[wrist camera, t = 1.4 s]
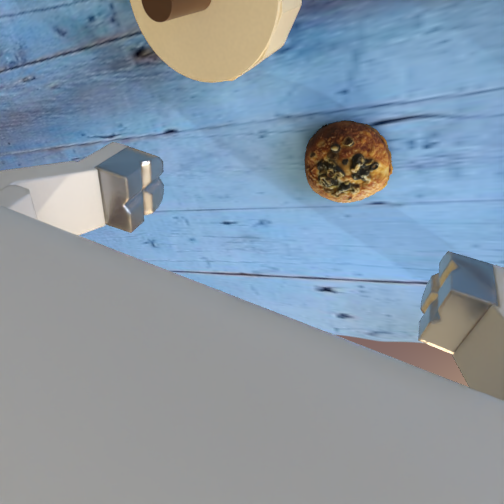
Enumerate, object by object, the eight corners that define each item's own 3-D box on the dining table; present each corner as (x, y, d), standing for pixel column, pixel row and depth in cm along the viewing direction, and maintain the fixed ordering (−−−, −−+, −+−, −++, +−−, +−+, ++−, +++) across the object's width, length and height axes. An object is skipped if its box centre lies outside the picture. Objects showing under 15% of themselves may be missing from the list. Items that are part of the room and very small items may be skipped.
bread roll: (331, 99, 46) (325, 118, 43) (412, 143, 47) (413, 165, 44) (290, 170, 54) (283, 190, 51) (360, 206, 55) (357, 228, 52)
